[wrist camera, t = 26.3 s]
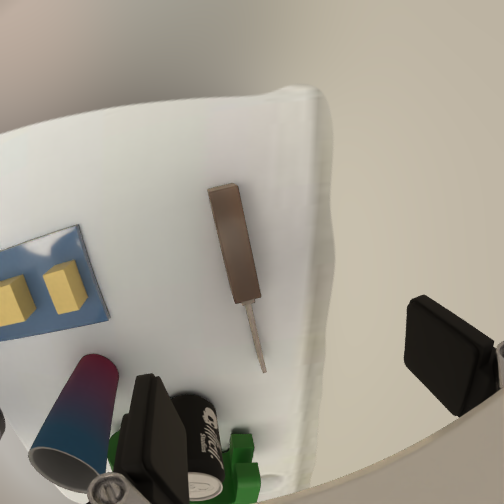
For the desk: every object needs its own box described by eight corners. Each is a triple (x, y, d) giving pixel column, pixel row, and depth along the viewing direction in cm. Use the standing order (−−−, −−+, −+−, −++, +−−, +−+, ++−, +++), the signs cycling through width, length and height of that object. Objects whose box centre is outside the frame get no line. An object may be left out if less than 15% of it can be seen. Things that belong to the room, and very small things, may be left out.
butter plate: (-6, 340, 28) (-9, 343, 27) (-37, 265, 25) (-40, 267, 24) (110, 317, 30) (108, 320, 29) (78, 224, 27) (75, 225, 26)
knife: (232, 182, 28) (237, 185, 25) (270, 355, 34) (277, 373, 31) (207, 188, 28) (208, 192, 25) (249, 360, 34) (254, 379, 30)
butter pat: (68, 301, 28) (57, 315, 25) (54, 265, 26) (42, 275, 23) (88, 297, 28) (79, 310, 25) (74, 259, 27) (63, 269, 24)
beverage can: (166, 386, 33) (162, 467, 21) (221, 395, 34) (234, 475, 23) (159, 422, 34) (155, 498, 23) (209, 430, 36) (218, 504, 24)
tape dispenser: (111, 498, 26) (99, 472, 25) (121, 450, 35) (113, 421, 33) (255, 506, 29) (261, 482, 28) (246, 457, 38) (250, 429, 36)
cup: (121, 400, 32) (101, 501, 18) (69, 381, 31) (31, 474, 16) (131, 359, 31) (108, 467, 17) (75, 338, 29) (24, 434, 15)
